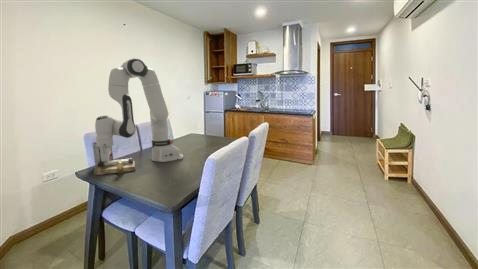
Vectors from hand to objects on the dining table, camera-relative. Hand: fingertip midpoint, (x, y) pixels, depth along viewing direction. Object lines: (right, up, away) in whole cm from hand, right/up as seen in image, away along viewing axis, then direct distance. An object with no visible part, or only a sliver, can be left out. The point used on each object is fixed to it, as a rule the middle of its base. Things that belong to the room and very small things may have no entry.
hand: (106, 164), depth 145 cm
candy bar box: (-8, -2, +12) cm, 14 cm away
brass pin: (+10, -5, -4) cm, 12 cm away
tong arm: (+2, 0, +4) cm, 4 cm away
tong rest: (+4, -3, +4) cm, 6 cm away
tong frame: (+3, 0, +6) cm, 6 cm away
